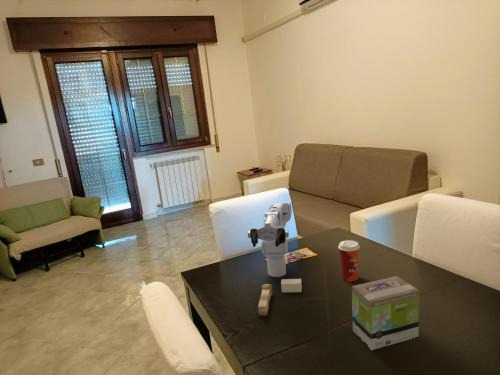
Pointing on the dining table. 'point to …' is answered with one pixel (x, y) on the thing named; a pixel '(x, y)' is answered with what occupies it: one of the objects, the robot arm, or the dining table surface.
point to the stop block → (291, 285)
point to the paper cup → (349, 260)
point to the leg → (265, 299)
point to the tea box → (385, 312)
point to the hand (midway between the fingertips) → (265, 244)
